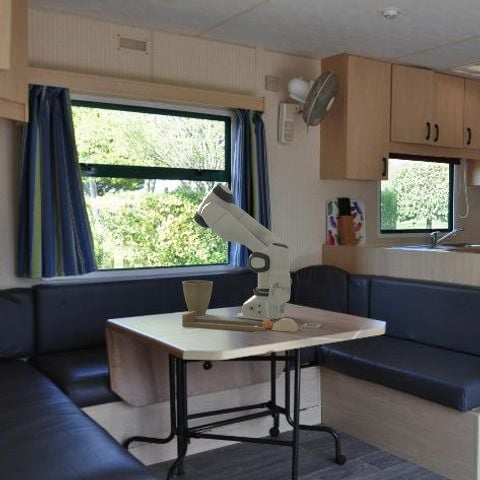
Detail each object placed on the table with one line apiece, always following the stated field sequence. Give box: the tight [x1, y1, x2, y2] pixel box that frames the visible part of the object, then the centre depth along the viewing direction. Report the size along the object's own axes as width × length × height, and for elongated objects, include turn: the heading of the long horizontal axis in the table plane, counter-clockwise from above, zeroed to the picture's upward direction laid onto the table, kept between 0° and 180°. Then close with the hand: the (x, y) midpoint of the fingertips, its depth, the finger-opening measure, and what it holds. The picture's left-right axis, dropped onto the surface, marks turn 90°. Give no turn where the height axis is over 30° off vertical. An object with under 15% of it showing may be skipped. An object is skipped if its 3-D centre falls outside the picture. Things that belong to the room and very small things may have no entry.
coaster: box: [301, 322, 322, 330], centre depth 254 cm, size 7×7×1 cm
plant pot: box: [181, 279, 214, 317], centre depth 288 cm, size 15×15×16 cm
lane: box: [181, 311, 299, 333], centre depth 255 cm, size 50×11×10 cm, turn 70°
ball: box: [262, 319, 273, 330], centre depth 250 cm, size 4×4×4 cm
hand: (279, 314), depth 248 cm, fingers open, 6 cm apart
